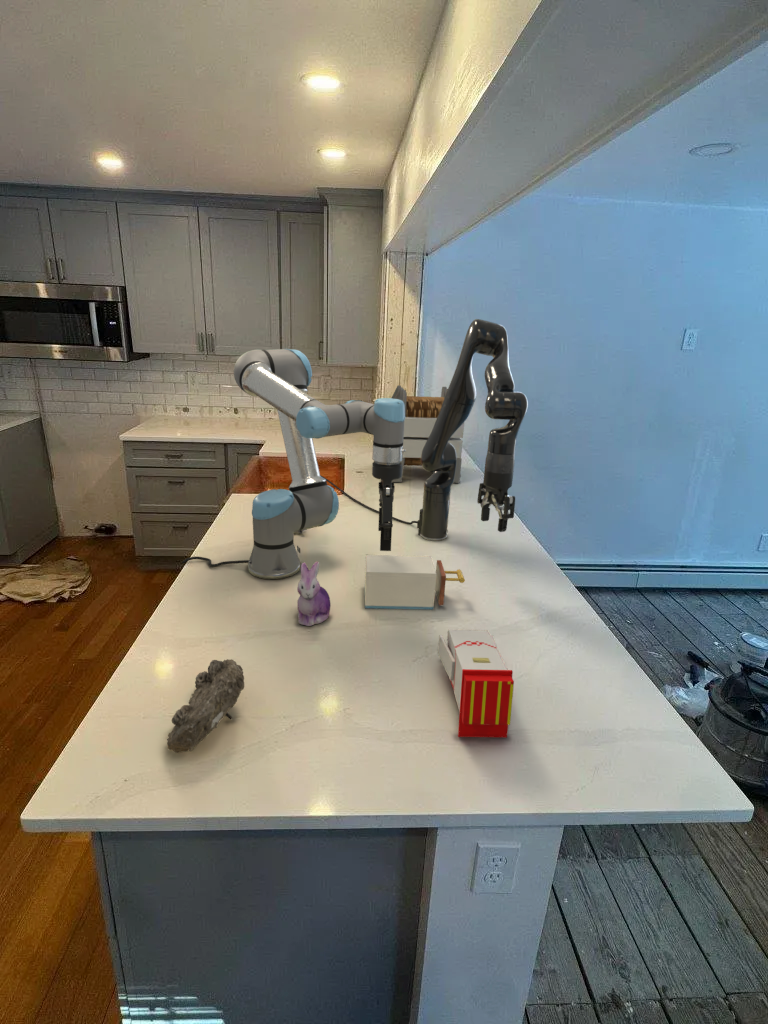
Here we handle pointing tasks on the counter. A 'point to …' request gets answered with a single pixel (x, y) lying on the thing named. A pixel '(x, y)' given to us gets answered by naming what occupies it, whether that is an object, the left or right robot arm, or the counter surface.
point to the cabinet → (399, 582)
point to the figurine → (312, 597)
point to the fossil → (206, 705)
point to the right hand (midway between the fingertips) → (493, 525)
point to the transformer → (424, 428)
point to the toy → (478, 682)
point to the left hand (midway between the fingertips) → (384, 540)
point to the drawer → (444, 580)
